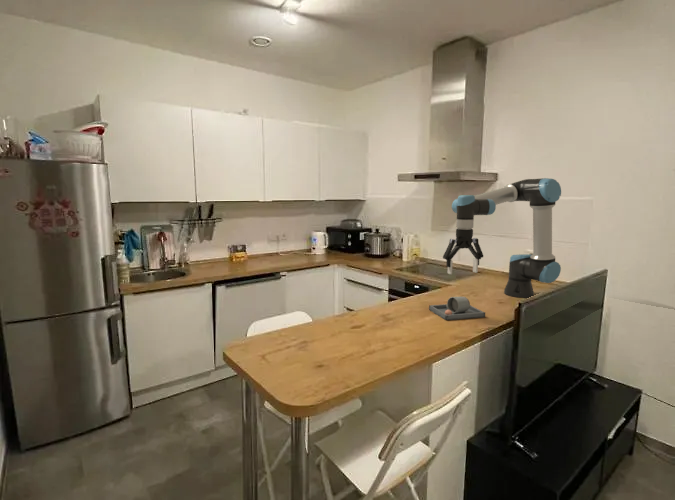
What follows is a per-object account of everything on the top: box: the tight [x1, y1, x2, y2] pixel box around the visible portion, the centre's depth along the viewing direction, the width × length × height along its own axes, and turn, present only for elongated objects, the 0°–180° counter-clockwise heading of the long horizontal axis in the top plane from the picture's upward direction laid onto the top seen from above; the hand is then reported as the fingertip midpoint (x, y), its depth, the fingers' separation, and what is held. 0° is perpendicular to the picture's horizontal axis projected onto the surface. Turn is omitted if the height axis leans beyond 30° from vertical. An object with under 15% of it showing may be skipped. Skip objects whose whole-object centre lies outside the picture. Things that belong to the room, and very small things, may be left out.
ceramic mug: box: [446, 296, 471, 313], centre depth 178 cm, size 11×8×8 cm
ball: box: [445, 310, 452, 315], centre depth 170 cm, size 3×3×3 cm
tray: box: [428, 303, 486, 321], centre depth 177 cm, size 20×16×2 cm
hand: (462, 273), depth 177 cm, fingers open, 13 cm apart
